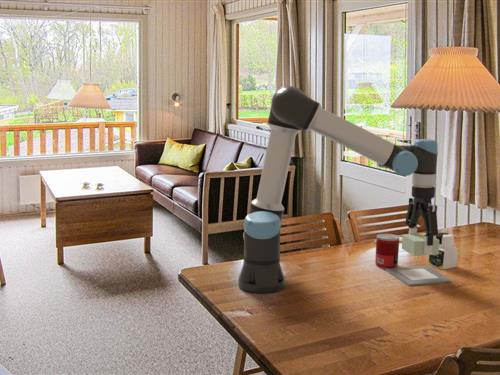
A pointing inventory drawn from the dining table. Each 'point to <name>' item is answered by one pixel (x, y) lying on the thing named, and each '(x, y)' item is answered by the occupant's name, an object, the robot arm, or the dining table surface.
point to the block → (418, 244)
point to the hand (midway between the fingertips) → (419, 250)
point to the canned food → (387, 250)
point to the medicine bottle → (445, 252)
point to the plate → (418, 275)
